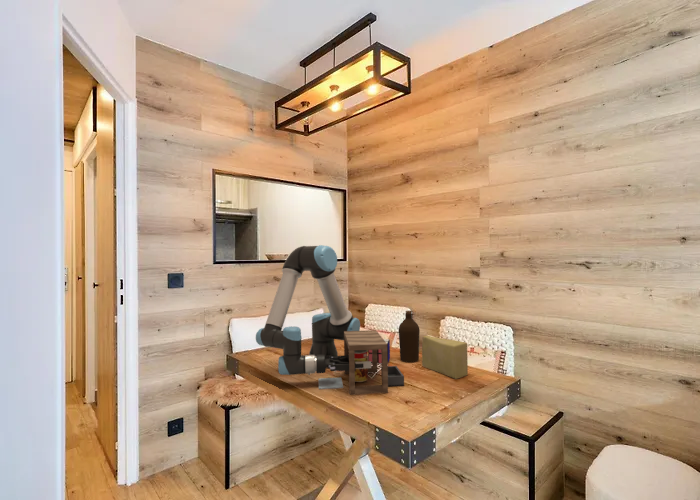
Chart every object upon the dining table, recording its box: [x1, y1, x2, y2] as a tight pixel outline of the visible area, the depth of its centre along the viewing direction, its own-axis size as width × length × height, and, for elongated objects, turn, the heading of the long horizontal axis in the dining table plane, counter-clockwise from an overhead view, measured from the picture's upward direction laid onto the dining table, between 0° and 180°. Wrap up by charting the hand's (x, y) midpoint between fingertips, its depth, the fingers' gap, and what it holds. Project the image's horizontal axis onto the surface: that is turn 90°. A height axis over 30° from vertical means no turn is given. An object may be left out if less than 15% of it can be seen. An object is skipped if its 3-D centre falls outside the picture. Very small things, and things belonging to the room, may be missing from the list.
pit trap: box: [380, 365, 405, 388], centre depth 160 cm, size 14×7×4 cm, turn 5°
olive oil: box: [398, 310, 420, 363], centre depth 190 cm, size 11×11×25 cm
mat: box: [318, 376, 344, 390], centre depth 157 cm, size 12×10×1 cm
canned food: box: [354, 350, 369, 383], centre depth 158 cm, size 8×8×12 cm
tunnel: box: [343, 329, 389, 396], centre depth 158 cm, size 27×15×19 cm, turn 5°
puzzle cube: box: [367, 338, 391, 364], centre depth 190 cm, size 10×10×10 cm
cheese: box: [421, 335, 469, 380], centre depth 171 cm, size 22×10×15 cm, turn 38°
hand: (369, 361), depth 159 cm, fingers closed on canned food, 8 cm apart
